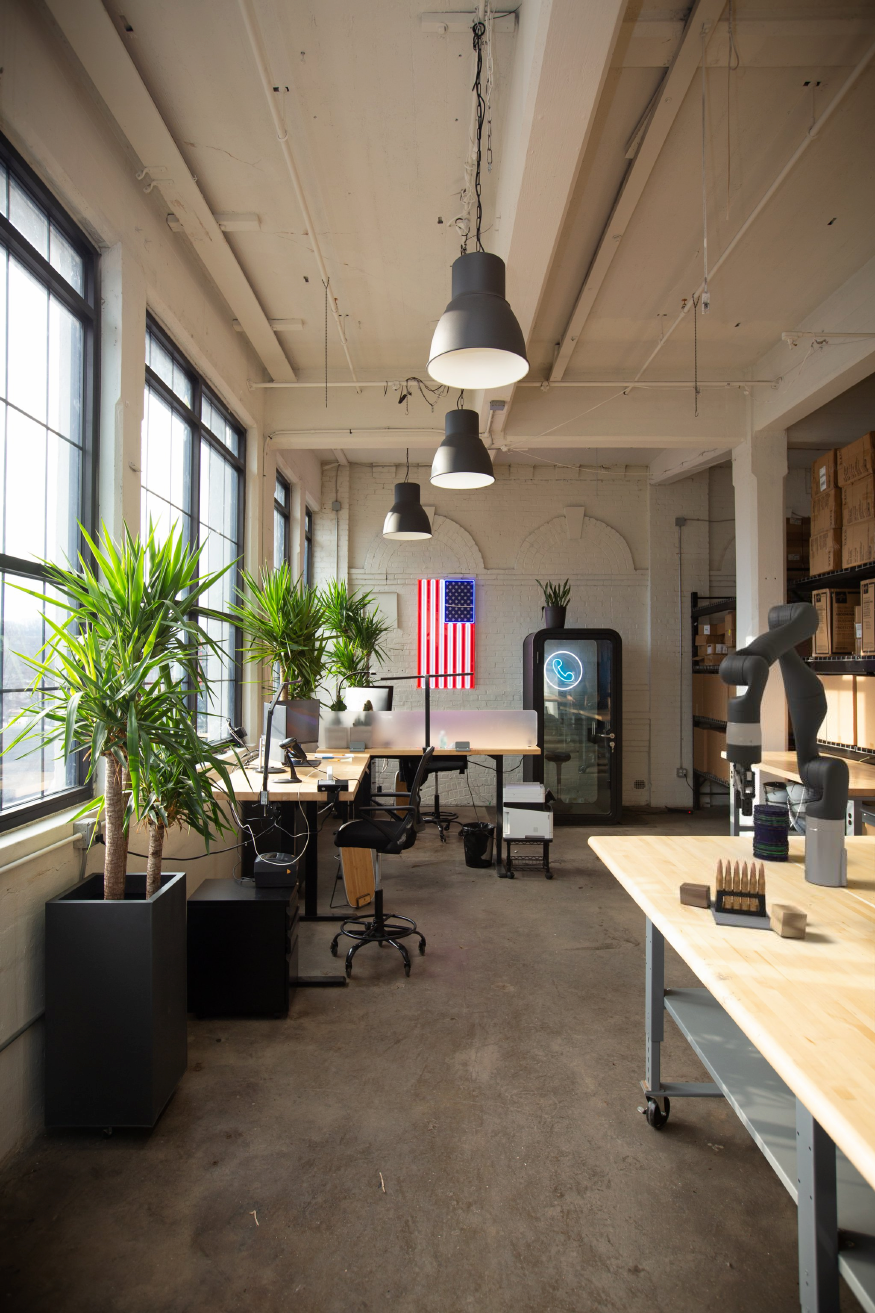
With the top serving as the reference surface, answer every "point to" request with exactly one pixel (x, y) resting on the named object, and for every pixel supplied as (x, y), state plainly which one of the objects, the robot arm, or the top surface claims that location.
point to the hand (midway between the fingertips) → (743, 812)
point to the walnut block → (695, 894)
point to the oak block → (788, 921)
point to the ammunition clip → (747, 893)
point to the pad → (740, 919)
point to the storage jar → (771, 833)
